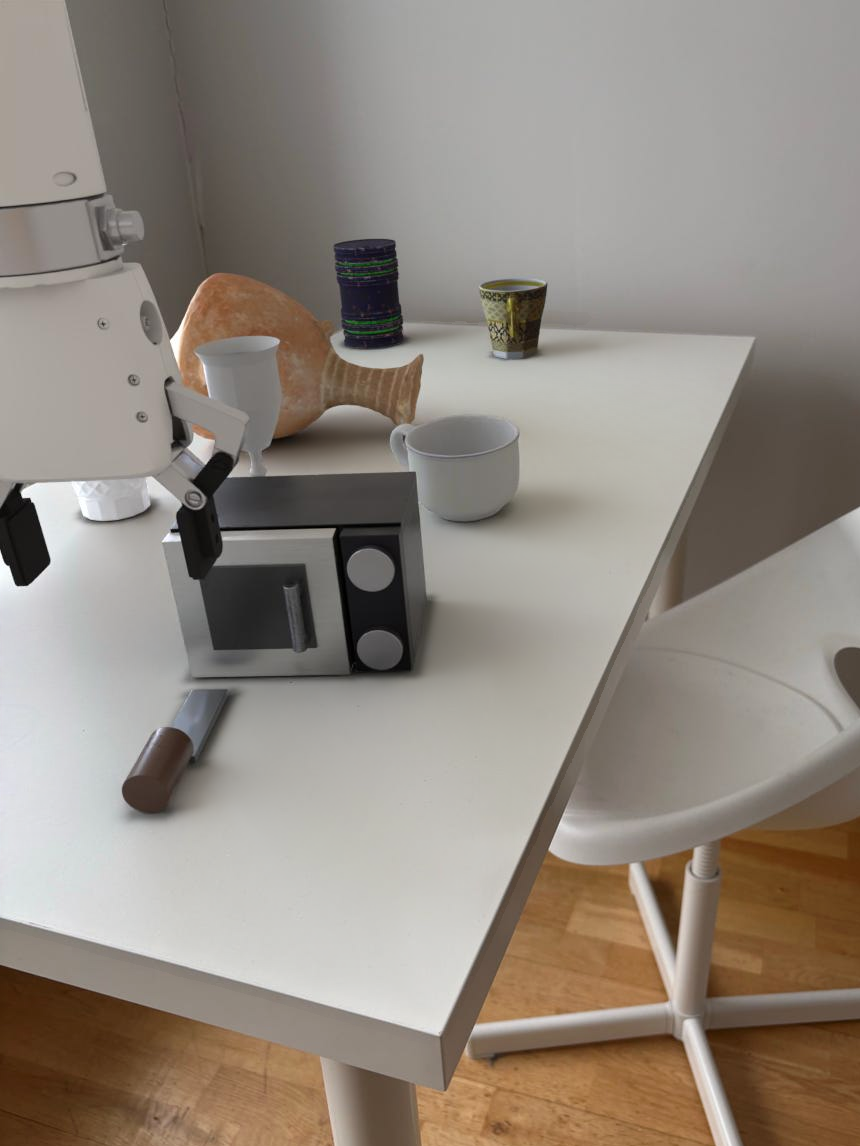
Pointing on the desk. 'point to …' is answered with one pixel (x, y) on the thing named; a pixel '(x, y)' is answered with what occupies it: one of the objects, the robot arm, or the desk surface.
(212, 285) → the jug
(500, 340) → the ceramic cup
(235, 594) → the microwave door
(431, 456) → the teacup
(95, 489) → the white cup
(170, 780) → the knife
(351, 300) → the storage jar
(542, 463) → the desk surface
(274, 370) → the chalice
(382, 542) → the microwave
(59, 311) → the robot arm
